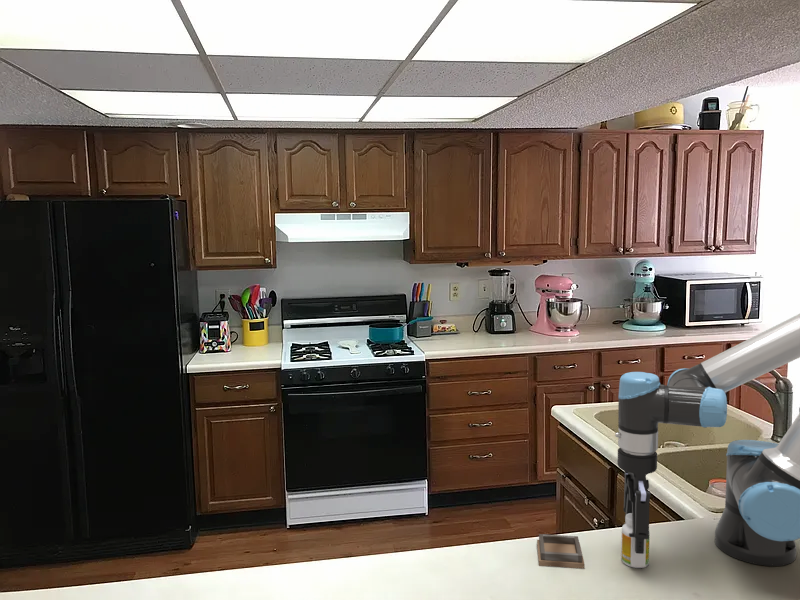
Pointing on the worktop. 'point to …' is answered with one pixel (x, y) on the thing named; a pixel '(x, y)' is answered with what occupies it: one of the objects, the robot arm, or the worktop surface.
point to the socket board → (560, 551)
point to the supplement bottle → (626, 542)
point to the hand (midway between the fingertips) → (634, 558)
